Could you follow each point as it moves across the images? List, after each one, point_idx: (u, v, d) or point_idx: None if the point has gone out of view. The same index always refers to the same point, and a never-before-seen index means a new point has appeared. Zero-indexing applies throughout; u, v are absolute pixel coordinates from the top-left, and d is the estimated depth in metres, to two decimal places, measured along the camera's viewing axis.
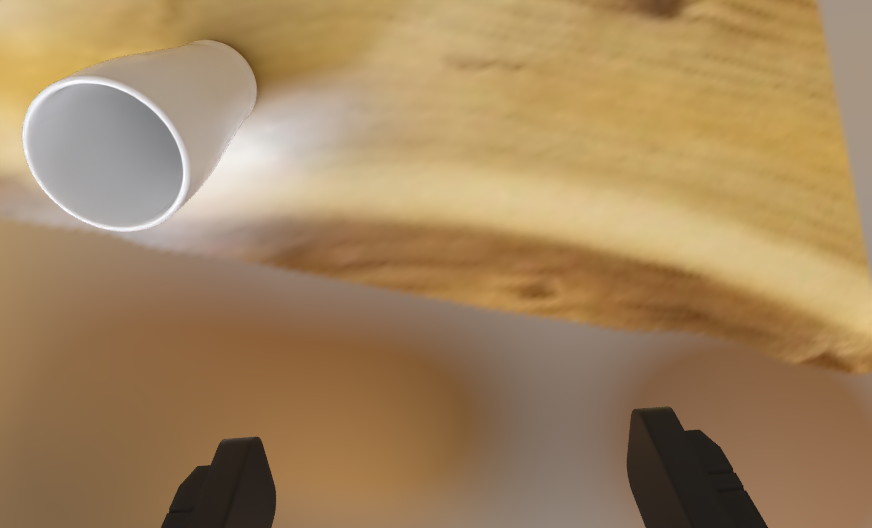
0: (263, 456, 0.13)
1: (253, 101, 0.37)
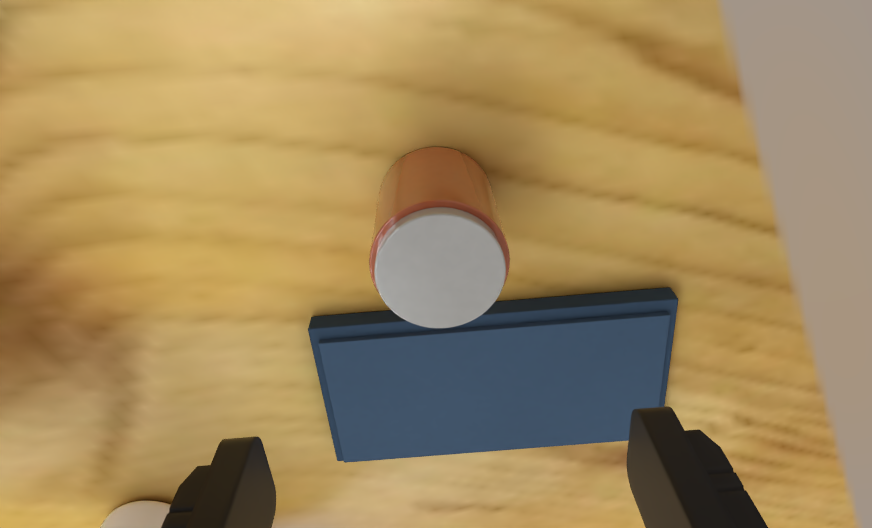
0: (263, 456, 0.13)
1: None
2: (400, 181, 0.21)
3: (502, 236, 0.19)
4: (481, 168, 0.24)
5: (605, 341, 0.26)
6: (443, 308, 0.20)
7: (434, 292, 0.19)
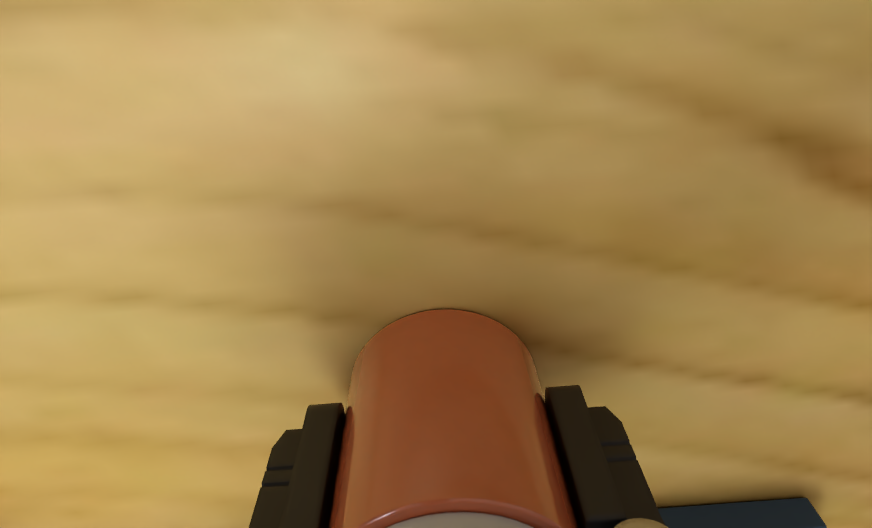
0: None
1: None
2: (381, 399, 0.12)
3: None
4: (520, 340, 0.14)
5: None
6: None
7: None
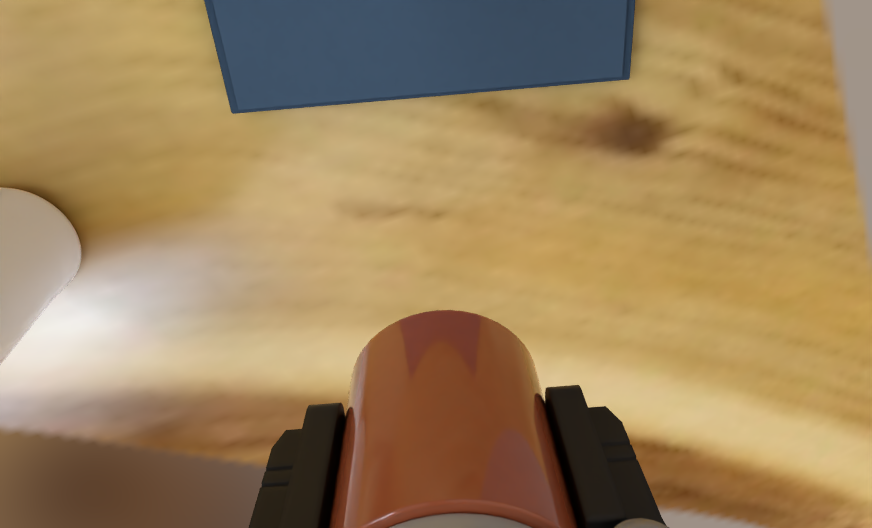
0: None
1: (71, 267, 0.27)
2: (381, 400, 0.12)
3: None
4: (520, 341, 0.14)
5: None
6: None
7: None
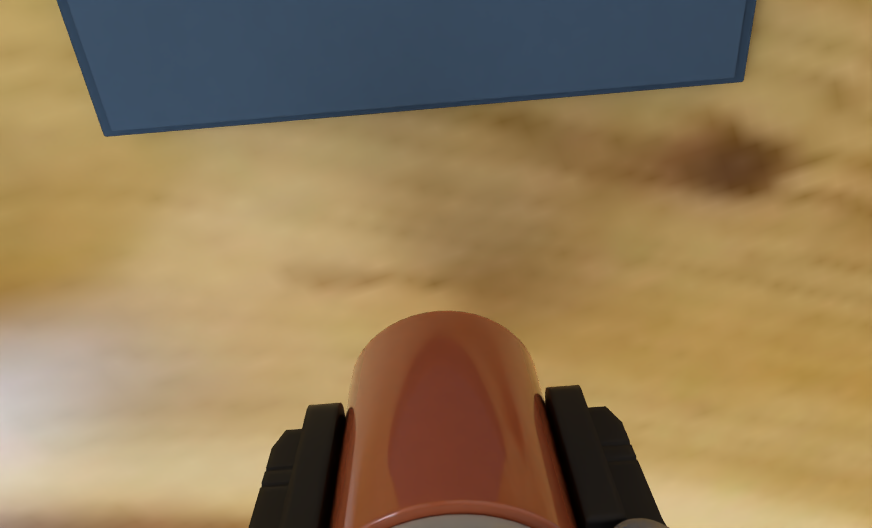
0: (344, 422, 0.14)
1: None
2: (382, 401, 0.12)
3: None
4: (520, 342, 0.14)
5: None
6: None
7: None
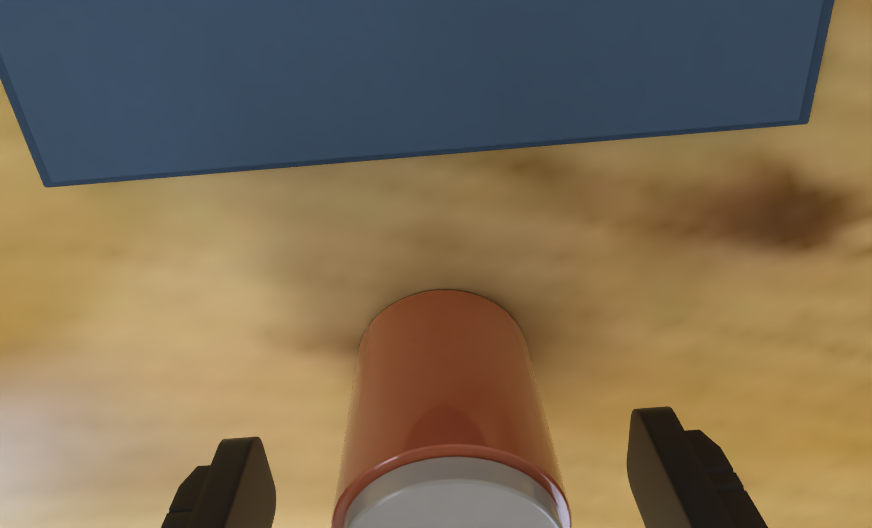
0: (263, 456, 0.13)
1: None
2: (386, 367, 0.13)
3: (561, 495, 0.11)
4: (512, 319, 0.15)
5: None
6: None
7: None
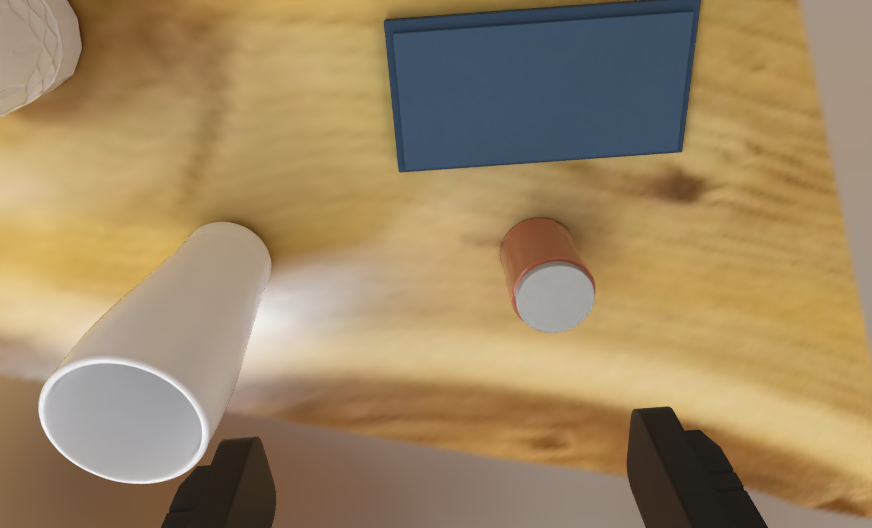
0: (263, 456, 0.13)
1: (267, 280, 0.36)
2: (524, 241, 0.34)
3: (592, 278, 0.32)
4: None
5: (638, 39, 0.31)
6: (555, 320, 0.33)
7: (551, 311, 0.32)
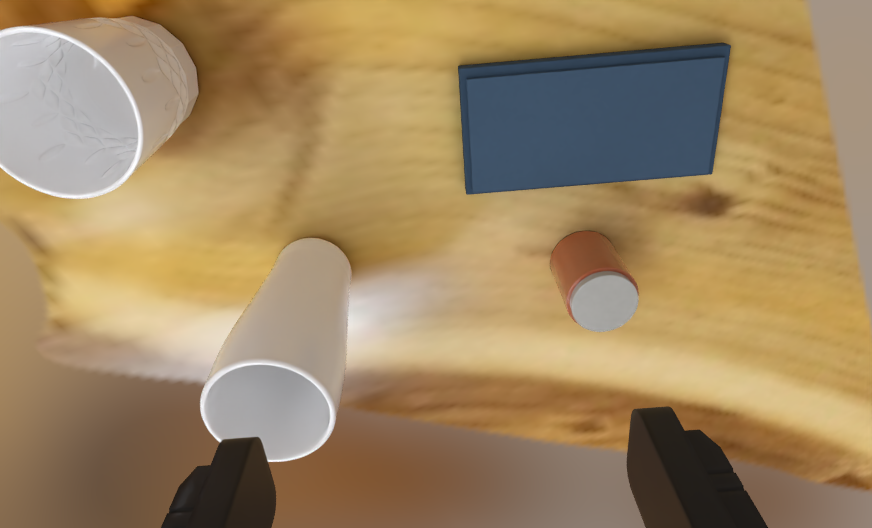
0: (263, 456, 0.13)
1: None
2: (575, 253, 0.40)
3: (636, 285, 0.38)
4: (610, 242, 0.42)
5: (676, 80, 0.36)
6: (604, 321, 0.38)
7: (600, 313, 0.38)
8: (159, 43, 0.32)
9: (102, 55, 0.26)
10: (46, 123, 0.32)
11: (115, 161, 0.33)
